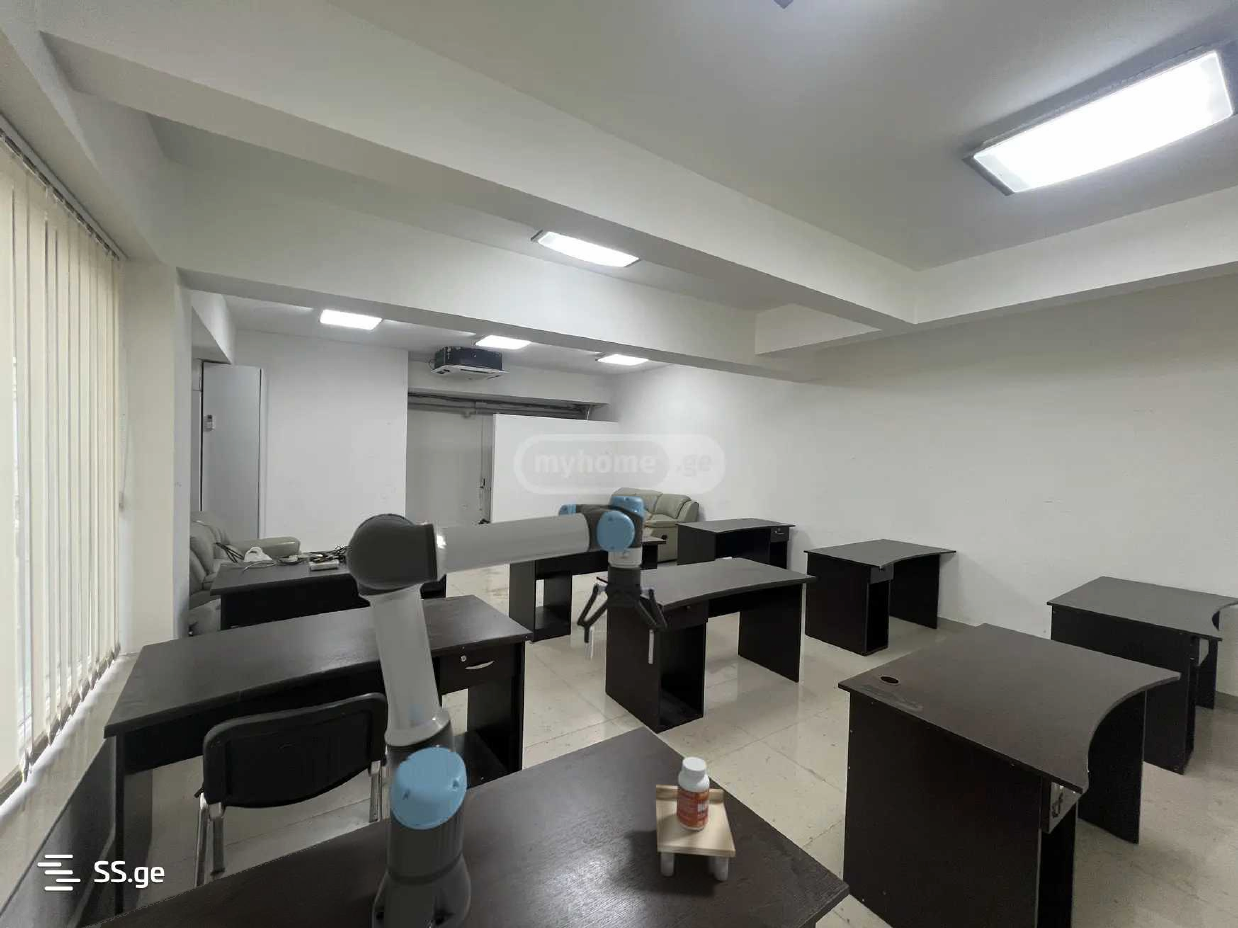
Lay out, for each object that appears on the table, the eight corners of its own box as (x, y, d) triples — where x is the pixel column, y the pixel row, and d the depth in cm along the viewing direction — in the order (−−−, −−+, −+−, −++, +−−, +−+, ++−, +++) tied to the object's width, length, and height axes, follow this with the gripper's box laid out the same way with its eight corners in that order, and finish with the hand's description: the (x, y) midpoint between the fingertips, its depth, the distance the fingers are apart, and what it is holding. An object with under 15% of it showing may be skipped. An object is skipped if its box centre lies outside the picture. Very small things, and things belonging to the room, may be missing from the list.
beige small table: (656, 878, 89) (658, 833, 89) (654, 823, 103) (656, 784, 103) (733, 885, 89) (735, 839, 89) (721, 828, 103) (722, 789, 103)
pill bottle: (701, 836, 92) (704, 777, 92) (671, 823, 95) (673, 766, 95) (712, 816, 97) (714, 760, 97) (683, 805, 100) (685, 750, 100)
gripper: (567, 564, 107) (562, 661, 107) (681, 571, 106) (677, 669, 106) (572, 558, 115) (567, 649, 114) (678, 564, 114) (674, 656, 113)
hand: (620, 659), depth 110 cm, fingers open, 13 cm apart
